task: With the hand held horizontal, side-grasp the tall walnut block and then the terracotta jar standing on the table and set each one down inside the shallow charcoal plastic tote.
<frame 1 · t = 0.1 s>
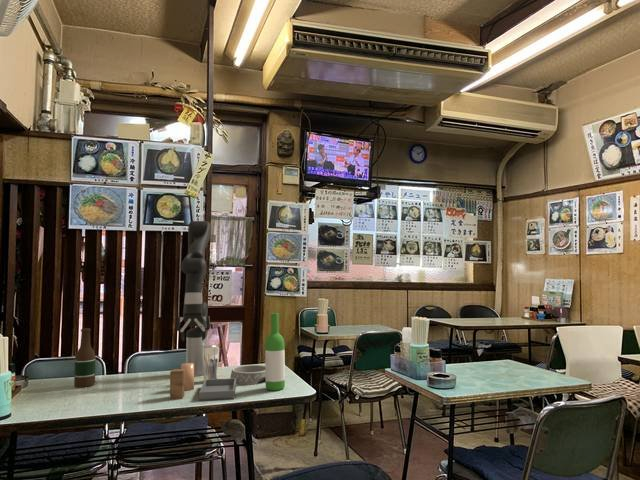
hand: (193, 340, 202), 17 cm above the table, tool pointing down, fingers open, 8 cm apart
terracotta jar: (187, 389, 186), on the table
walnut block: (177, 397, 174), on the table
tote: (218, 392, 180), on the table
wine bottle: (275, 389, 185), on the table
beer glass: (210, 381, 199), on the table
dog bowl: (250, 381, 201), on the table
beer bottle: (84, 386, 194), on the table
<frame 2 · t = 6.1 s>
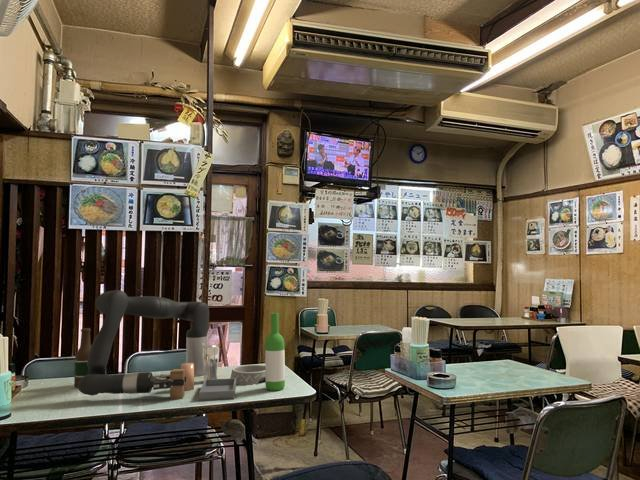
hand: (184, 380, 175), 6 cm above the table, tool horizontal, fingers closed on walnut block, 4 cm apart
walnut block: (177, 397, 174), on the table, touching gripper
everything else where it was.
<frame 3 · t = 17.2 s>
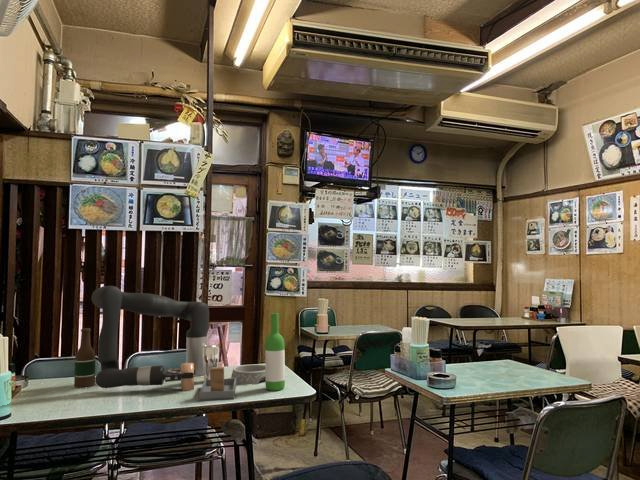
hand: (194, 373, 187), 6 cm above the table, tool horizontal, fingers closed on terracotta jar, 5 cm apart
terracotta jar: (187, 389, 186), on the table, touching gripper
walnut block: (217, 395, 174), point 1 cm above the table, touching tote
when the fingers open (8 cm above the table, at t = 21.9 s): terracotta jar drops 2 cm, resting on tote.
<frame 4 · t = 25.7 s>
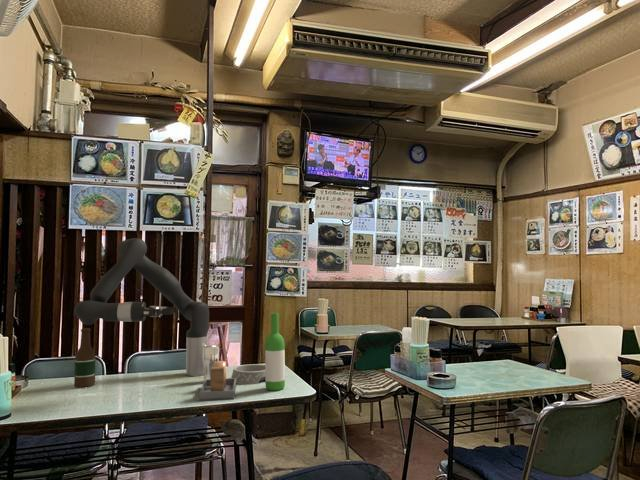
hand: (174, 310, 182), 32 cm above the table, tool horizontal, fingers open, 8 cm apart
terracotta jar: (219, 387, 186), point 1 cm above the table, touching tote
at the end: walnut block inside the target area on the tote (5.9 cm from its centre), point 0.6 cm above the tote's base; terracotta jar inside the target area on the tote (5.9 cm from its centre), point 0.7 cm above the tote's base; the gripper is holding nothing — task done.
